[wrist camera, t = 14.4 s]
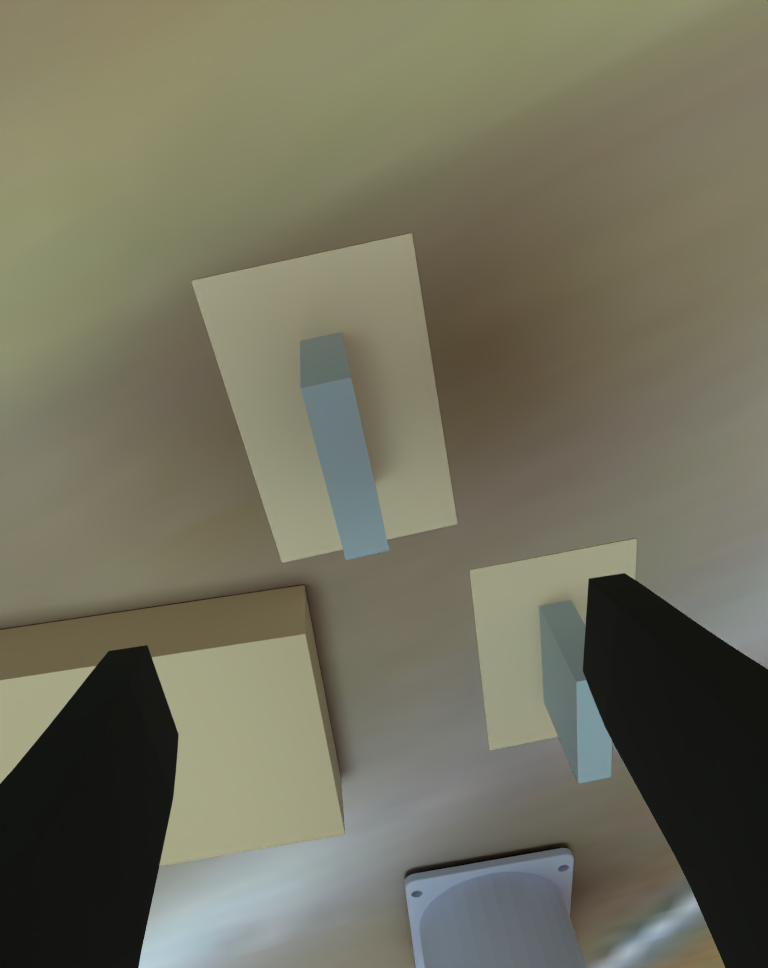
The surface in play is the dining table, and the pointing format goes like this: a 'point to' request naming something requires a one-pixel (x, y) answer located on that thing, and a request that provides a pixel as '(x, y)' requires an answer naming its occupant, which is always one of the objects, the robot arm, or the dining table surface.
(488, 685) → the flap
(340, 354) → the flap
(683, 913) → the dining table surface
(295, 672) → the panel
